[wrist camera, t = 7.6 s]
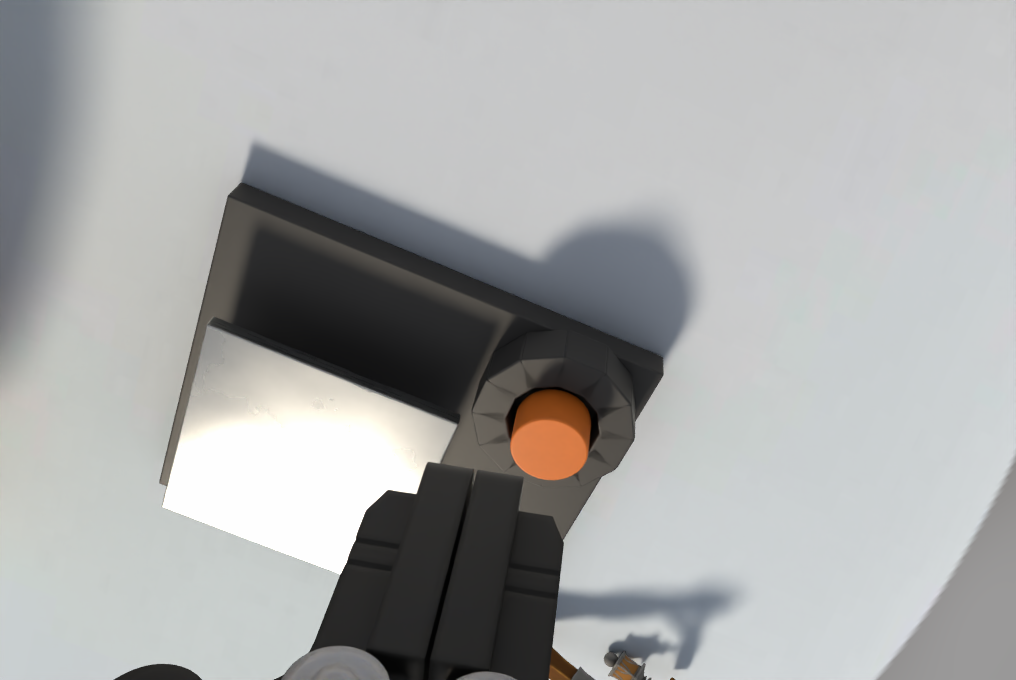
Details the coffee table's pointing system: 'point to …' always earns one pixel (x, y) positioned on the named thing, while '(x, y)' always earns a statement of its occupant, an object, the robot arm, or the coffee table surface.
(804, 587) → the coffee table surface
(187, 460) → the pan
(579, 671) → the wooden lantern bracket
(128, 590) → the coffee table surface
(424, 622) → the robot arm
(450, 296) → the scale
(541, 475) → the button
